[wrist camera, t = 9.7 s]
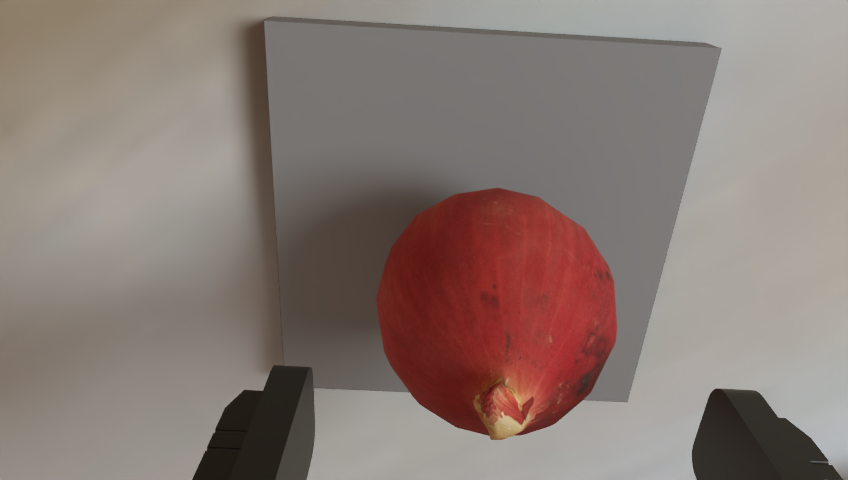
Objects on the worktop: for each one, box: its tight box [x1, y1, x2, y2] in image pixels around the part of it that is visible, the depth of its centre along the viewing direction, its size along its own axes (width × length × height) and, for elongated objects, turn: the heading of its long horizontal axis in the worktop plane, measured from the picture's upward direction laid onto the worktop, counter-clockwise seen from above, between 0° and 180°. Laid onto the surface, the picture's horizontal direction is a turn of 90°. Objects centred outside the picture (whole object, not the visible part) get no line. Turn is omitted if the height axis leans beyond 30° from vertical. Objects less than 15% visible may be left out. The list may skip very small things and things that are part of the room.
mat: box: [264, 17, 722, 402], centre depth 19 cm, size 12×12×1 cm
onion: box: [376, 188, 617, 440], centre depth 15 cm, size 6×6×8 cm
